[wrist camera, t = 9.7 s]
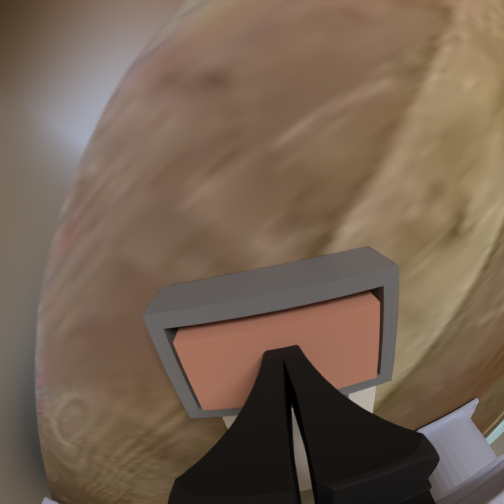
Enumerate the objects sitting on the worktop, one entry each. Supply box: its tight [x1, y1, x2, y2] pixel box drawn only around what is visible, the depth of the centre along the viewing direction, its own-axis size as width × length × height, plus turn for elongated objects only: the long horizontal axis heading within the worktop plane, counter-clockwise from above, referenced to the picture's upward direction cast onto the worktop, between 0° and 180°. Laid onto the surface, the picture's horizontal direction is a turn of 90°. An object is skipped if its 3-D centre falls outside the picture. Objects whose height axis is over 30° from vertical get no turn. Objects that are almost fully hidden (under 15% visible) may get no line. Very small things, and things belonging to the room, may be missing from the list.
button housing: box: [142, 246, 399, 419], centre depth 12 cm, size 6×10×3 cm, turn 101°
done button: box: [173, 290, 380, 411], centre depth 11 cm, size 4×8×2 cm, turn 101°
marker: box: [292, 411, 315, 504], centre depth 11 cm, size 4×4×8 cm
